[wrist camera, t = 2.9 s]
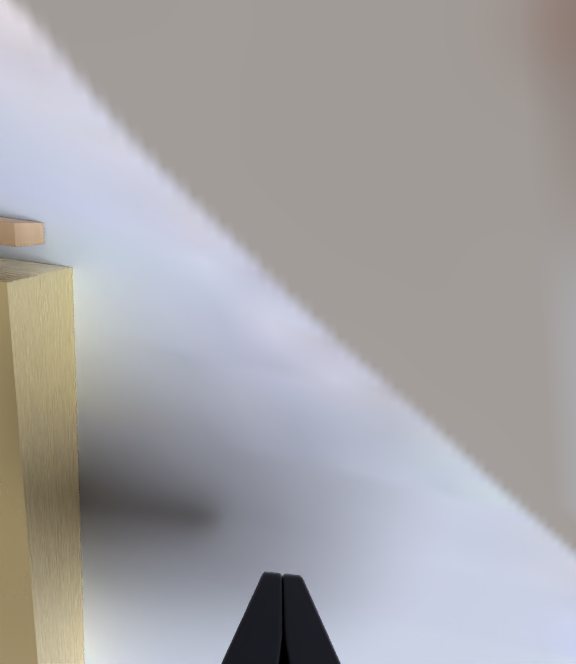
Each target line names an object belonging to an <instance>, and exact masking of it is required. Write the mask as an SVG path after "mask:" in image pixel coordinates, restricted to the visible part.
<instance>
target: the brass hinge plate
mask: <svg viewBox="0 0 576 664" xmlns="http://www.w3.org/2000/svg"><path fill="white" fill-rule="evenodd" d="M0 664H85V663H84V631H83V598H82V565H81V532H80V500H79V467H78V434H77V401H76V369H75V336H74V303H73V270H72V267H65V266H57V265H50V264H43V263H35V262H28V261H20V260H13V259H5V258H0Z"/></svg>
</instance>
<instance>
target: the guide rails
mask: <svg viewBox="0 0 576 664" xmlns="http://www.w3.org/2000/svg"><path fill="white" fill-rule="evenodd" d="M38 244H44V227H43V223H41V222H34V221H27V220H20V219H12V218H5V217H0V245H7V246H14V247H18V246H28V245H38Z"/></svg>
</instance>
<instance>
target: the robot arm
mask: <svg viewBox="0 0 576 664" xmlns="http://www.w3.org/2000/svg"><path fill="white" fill-rule="evenodd" d="M222 664H341V663H340V661H339V659H338V657H337V654H336V652H335V650H334V648H333V645H332V643H331V641H330V639H329V636H328V634H327V632H326V630H325V627H324V625H323V623H322V620H321V618H320V616H319V614H318V611H317V609H316V607H315V605H314V602H313V600H312V598H311V596H310V593H309V591H308V589H307V587H306V584H305V582H304V580H303V578H302V577H301V576H300V575H294V574H284V575H283V576H282V575H281V574H280V573H274V572H264V573H263V574H262V576H261V578H260V580H259V582H258V585H257V587H256V589H255V591H254V593H253V596H252V598H251V600H250V602H249V604H248V607H247V609H246V611H245V613H244V615H243V618H242V620H241V622H240V624H239V626H238V628H237V631H236V633H235V635H234V637H233V639H232V642H231V644H230V646H229V648H228V650H227V653H226V655H225V657H224V659H223V661H222Z"/></svg>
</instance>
